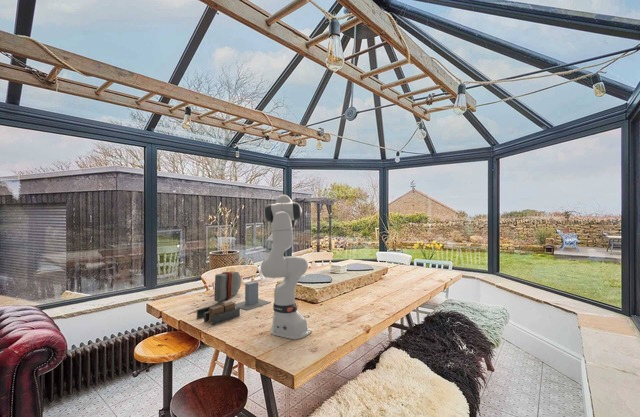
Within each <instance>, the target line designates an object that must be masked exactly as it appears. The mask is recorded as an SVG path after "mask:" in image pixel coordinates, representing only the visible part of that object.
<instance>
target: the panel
mask: <svg viewBox="0 0 640 417" xmlns="http://www.w3.org/2000/svg"><path fill="white" fill-rule="evenodd" d="M258 299H259V282H258V281H251V282H246V283H244V301H245V304H246V305H252V304H255V303H258Z"/></svg>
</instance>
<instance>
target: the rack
mask: <svg viewBox="0 0 640 417" xmlns="http://www.w3.org/2000/svg"><path fill="white" fill-rule="evenodd" d="M224 303H225V302H223V301H221V302H219V303H216V304H212V305H209V306H206V307H202V308H201V307H200V308H199V309H196V319H202V318H203V322H205V323H207V322H209V308H210V307H214V306H217V305H221V304H224ZM238 317H241V308H239V307H235V308H234V309H231V310H228V311H225V312H222V313H219V314H215V315H212V323H211V325H212V326H215V325H218V324H221V323H224V322H227V321H230V320H233V319H235V318H238Z"/></svg>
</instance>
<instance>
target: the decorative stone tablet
mask: <svg viewBox="0 0 640 417" xmlns="http://www.w3.org/2000/svg"><path fill="white" fill-rule="evenodd" d="M214 277H215V278H214V290H213V291H214V296H213V297H214V298H213V299H214V302H223V301H228V300H230V299H231V298H232V297H234V296H236V295H237V294H238V292H239V291H240V289H241V286H242V285H241V284H242V278H241V275H240V273H239V271H233V270H232V271H231V270H229V271H222V272H221V273H218V274H217V273H216V274H215V275H214Z"/></svg>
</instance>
